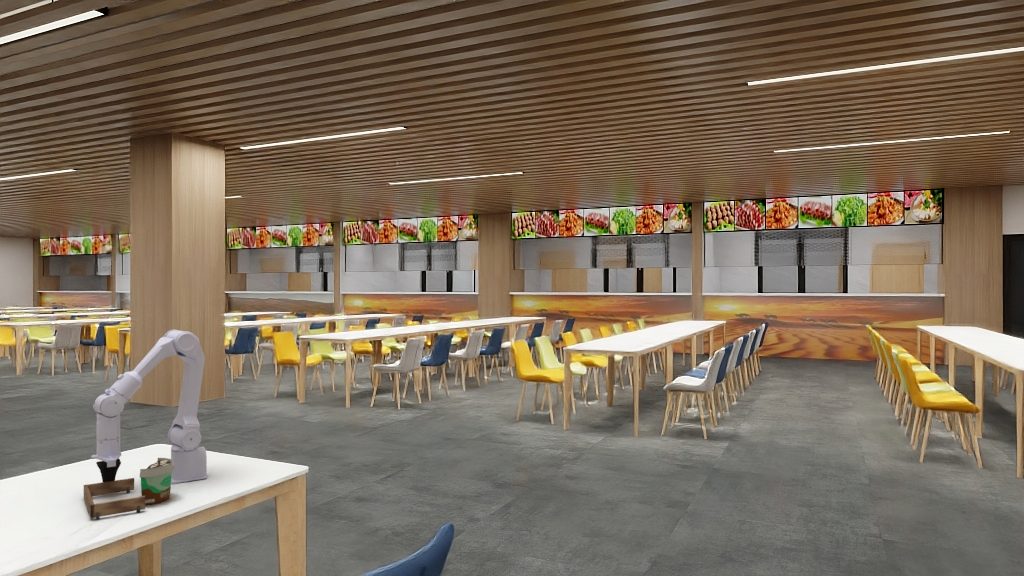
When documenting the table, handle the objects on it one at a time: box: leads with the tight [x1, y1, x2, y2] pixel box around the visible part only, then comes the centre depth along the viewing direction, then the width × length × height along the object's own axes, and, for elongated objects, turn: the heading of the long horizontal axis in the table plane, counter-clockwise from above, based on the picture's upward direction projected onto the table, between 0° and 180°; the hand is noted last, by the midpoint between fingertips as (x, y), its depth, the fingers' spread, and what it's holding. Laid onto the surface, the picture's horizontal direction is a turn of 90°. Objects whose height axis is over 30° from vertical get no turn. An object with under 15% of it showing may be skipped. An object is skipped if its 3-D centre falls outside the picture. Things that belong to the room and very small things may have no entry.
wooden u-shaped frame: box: [83, 477, 146, 520], centre depth 184 cm, size 12×21×4 cm, turn 36°
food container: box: [139, 457, 175, 507], centre depth 189 cm, size 12×6×10 cm, turn 6°
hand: (108, 487), depth 193 cm, fingers closed
